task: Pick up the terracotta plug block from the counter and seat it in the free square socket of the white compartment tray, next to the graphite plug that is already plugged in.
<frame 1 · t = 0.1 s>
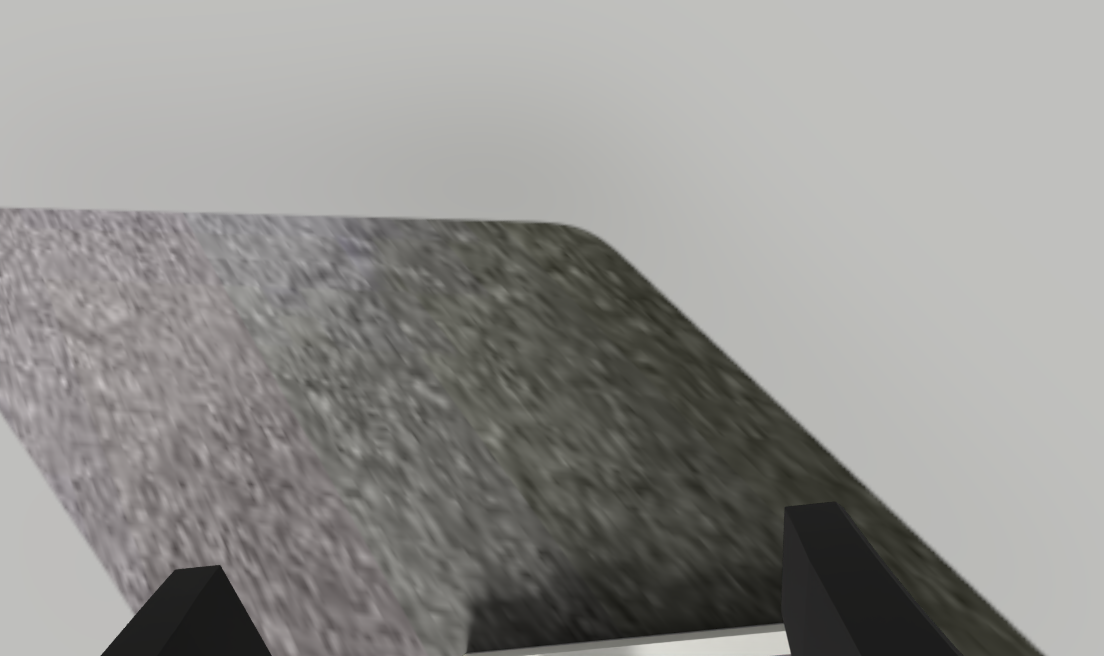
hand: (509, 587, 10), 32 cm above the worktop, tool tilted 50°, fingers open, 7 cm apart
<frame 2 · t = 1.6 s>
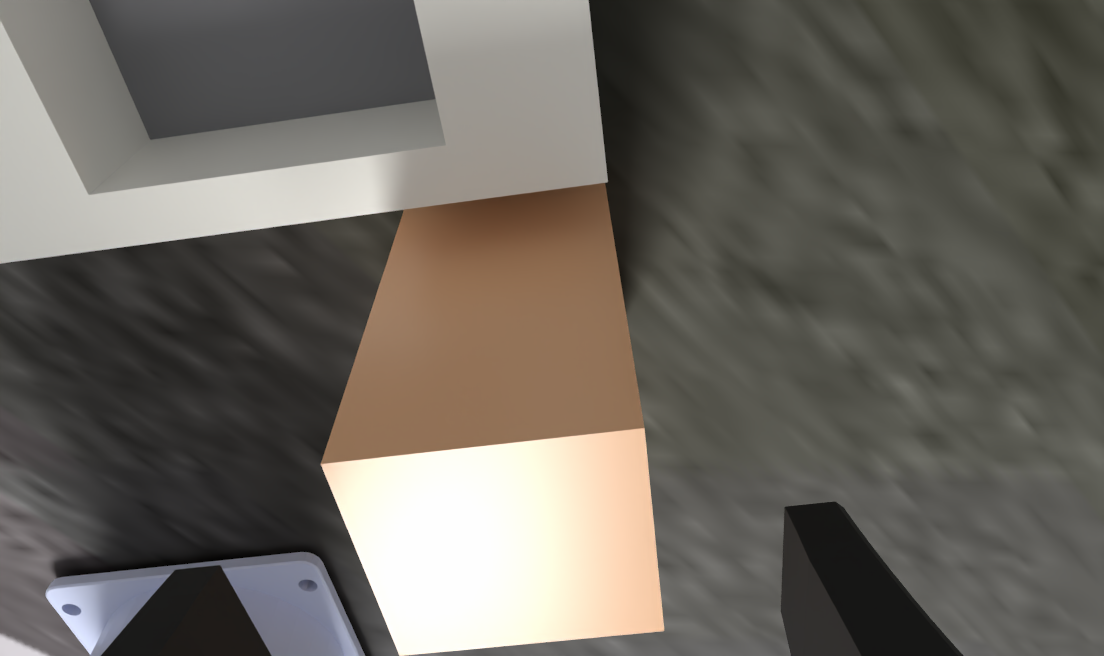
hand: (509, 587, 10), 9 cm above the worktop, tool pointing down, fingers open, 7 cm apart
plug: (520, 264, 17), on the worktop
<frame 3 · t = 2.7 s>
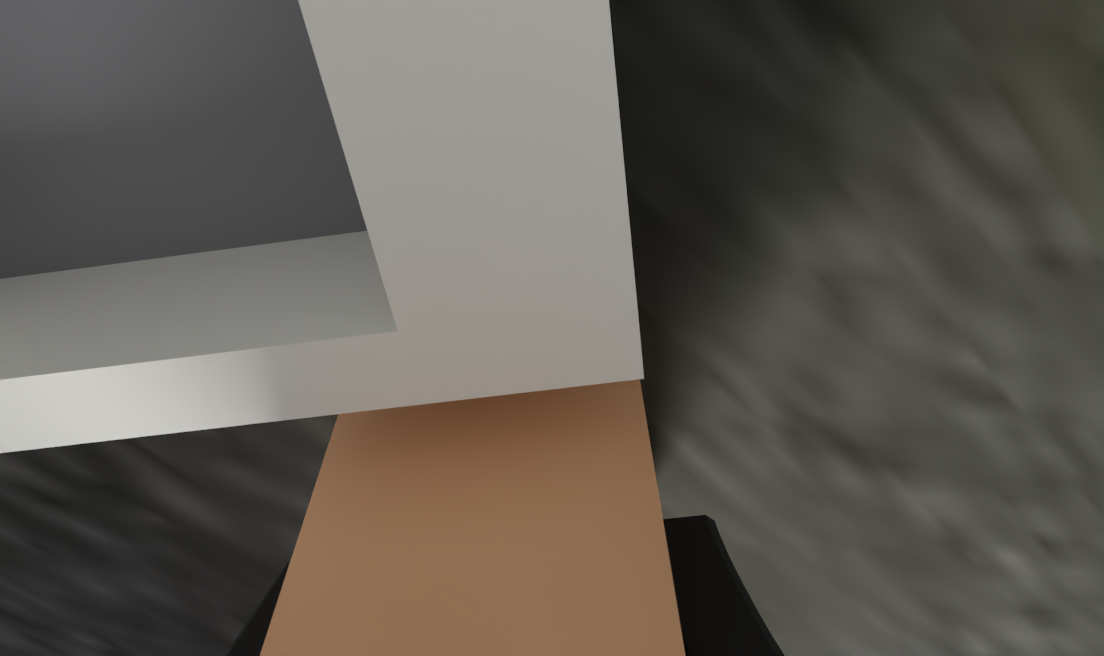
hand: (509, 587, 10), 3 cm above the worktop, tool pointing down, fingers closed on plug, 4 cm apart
plug: (515, 422, 13), on the worktop, touching gripper
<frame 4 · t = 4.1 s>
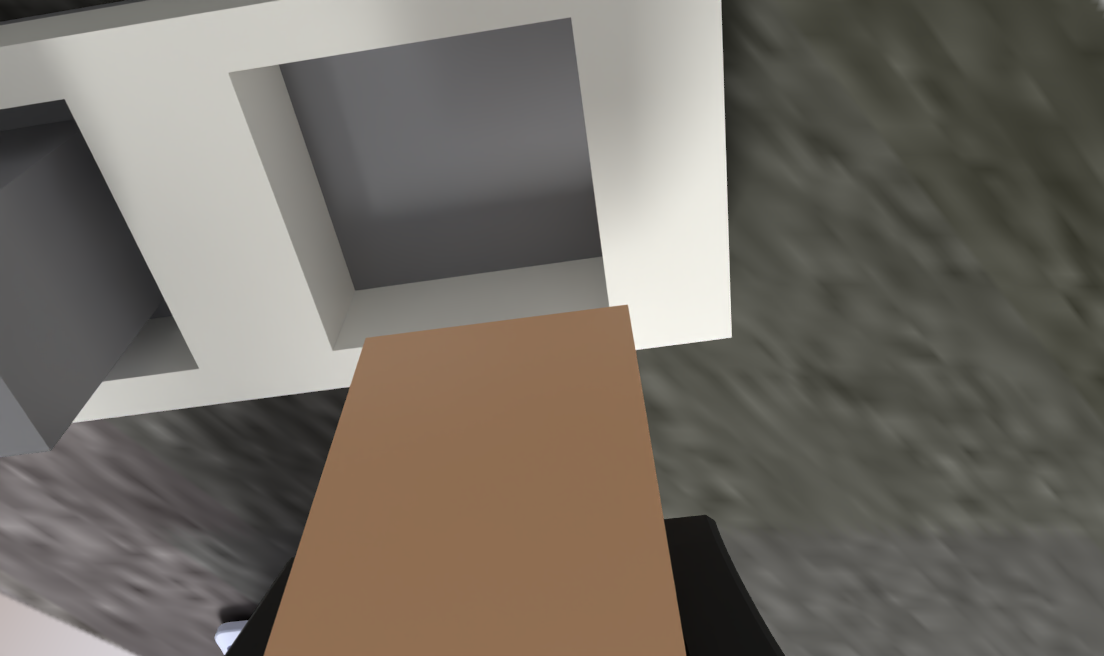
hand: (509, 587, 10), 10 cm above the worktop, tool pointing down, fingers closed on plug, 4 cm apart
graphite plug: (59, 214, 18), resting on white compartment tray
white compartment tray: (257, 176, 18), on the worktop
plug: (517, 421, 13), point 7 cm above the worktop, touching gripper
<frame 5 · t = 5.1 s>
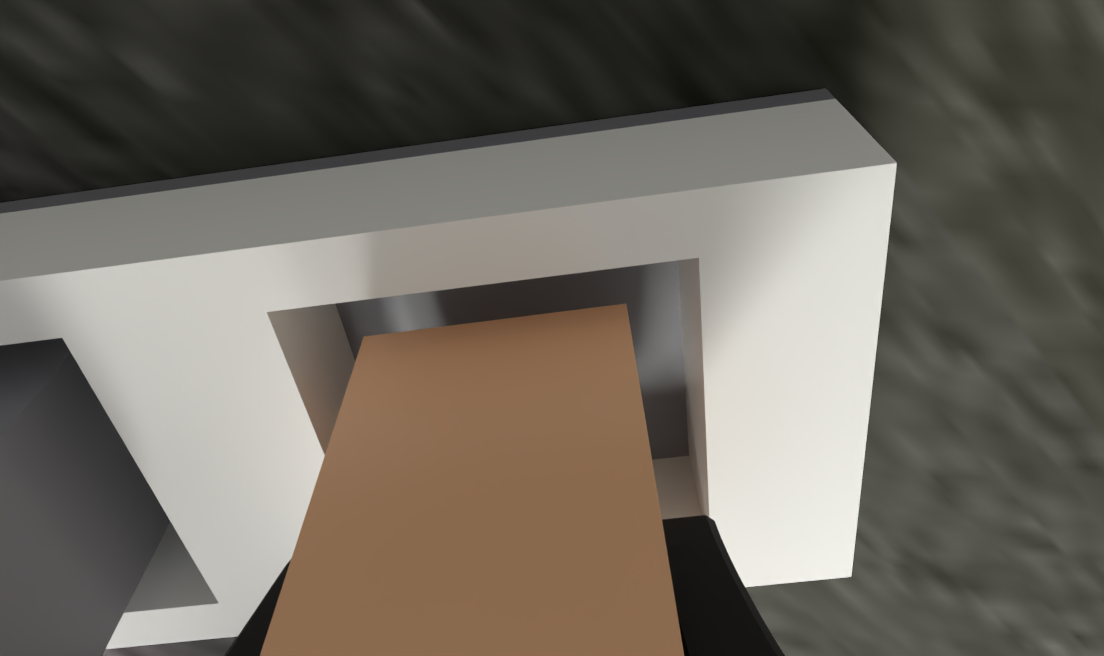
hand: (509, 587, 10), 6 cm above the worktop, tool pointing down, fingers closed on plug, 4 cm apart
graphite plug: (53, 409, 15), resting on white compartment tray
white compartment tray: (288, 366, 15), on the worktop
plug: (515, 420, 13), point 2 cm above the worktop, touching gripper
when the fingers open (5 cm above the worktop, at t = 5.7 s): plug stays where it is, resting on white compartment tray.
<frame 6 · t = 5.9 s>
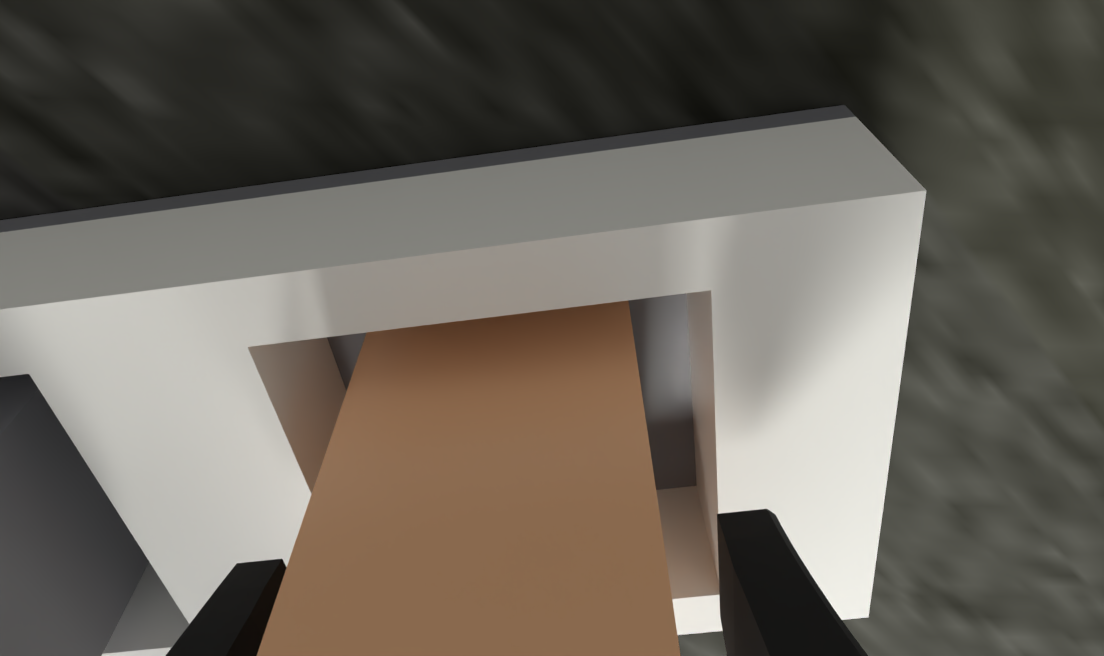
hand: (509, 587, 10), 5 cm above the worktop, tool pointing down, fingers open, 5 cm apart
graphite plug: (29, 438, 14), resting on white compartment tray
white compartment tray: (275, 393, 15), on the worktop
plug: (518, 383, 14), point 1 cm above the worktop, touching white compartment tray
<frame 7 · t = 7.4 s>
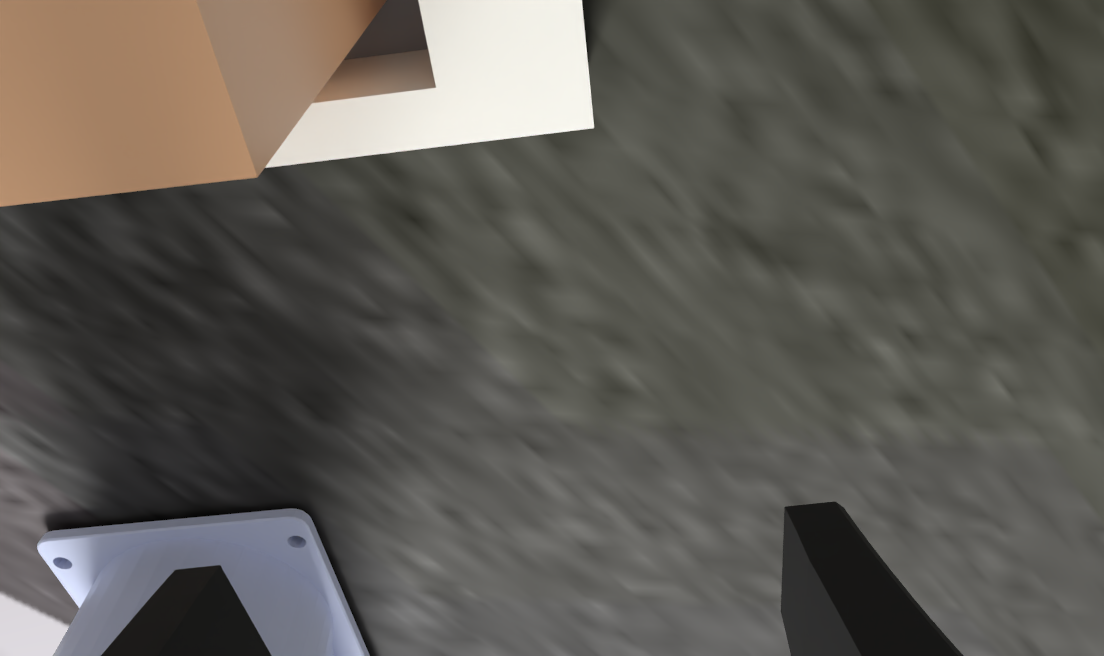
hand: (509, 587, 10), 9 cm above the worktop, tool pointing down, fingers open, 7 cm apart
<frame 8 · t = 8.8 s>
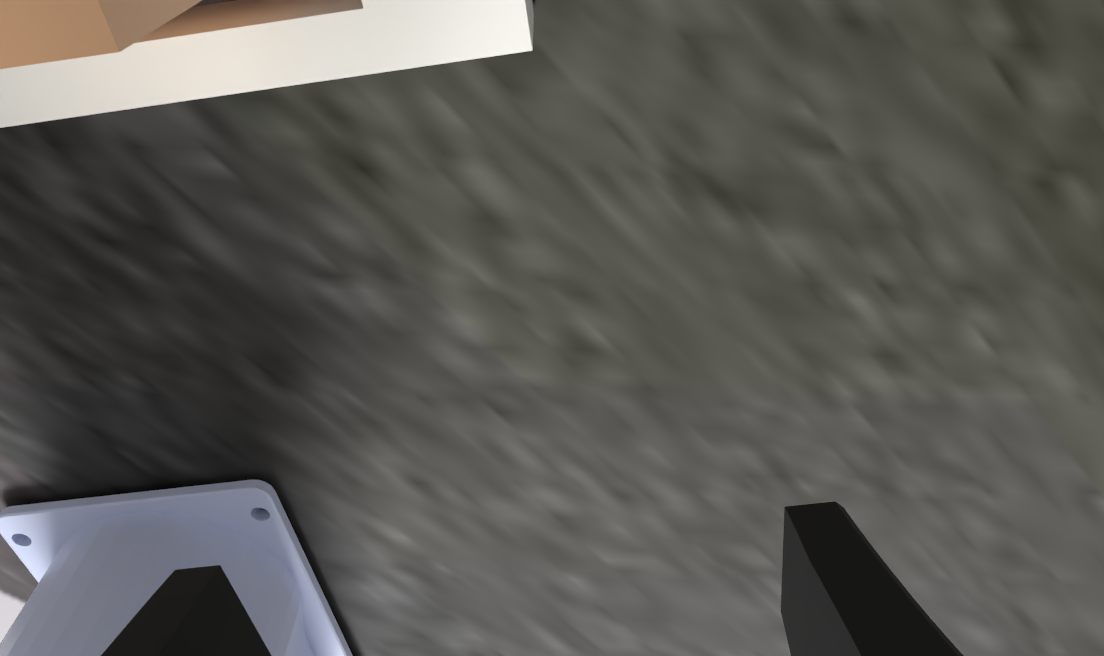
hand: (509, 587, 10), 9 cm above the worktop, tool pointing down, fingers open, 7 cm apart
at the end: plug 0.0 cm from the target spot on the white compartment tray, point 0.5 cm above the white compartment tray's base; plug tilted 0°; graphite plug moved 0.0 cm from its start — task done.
